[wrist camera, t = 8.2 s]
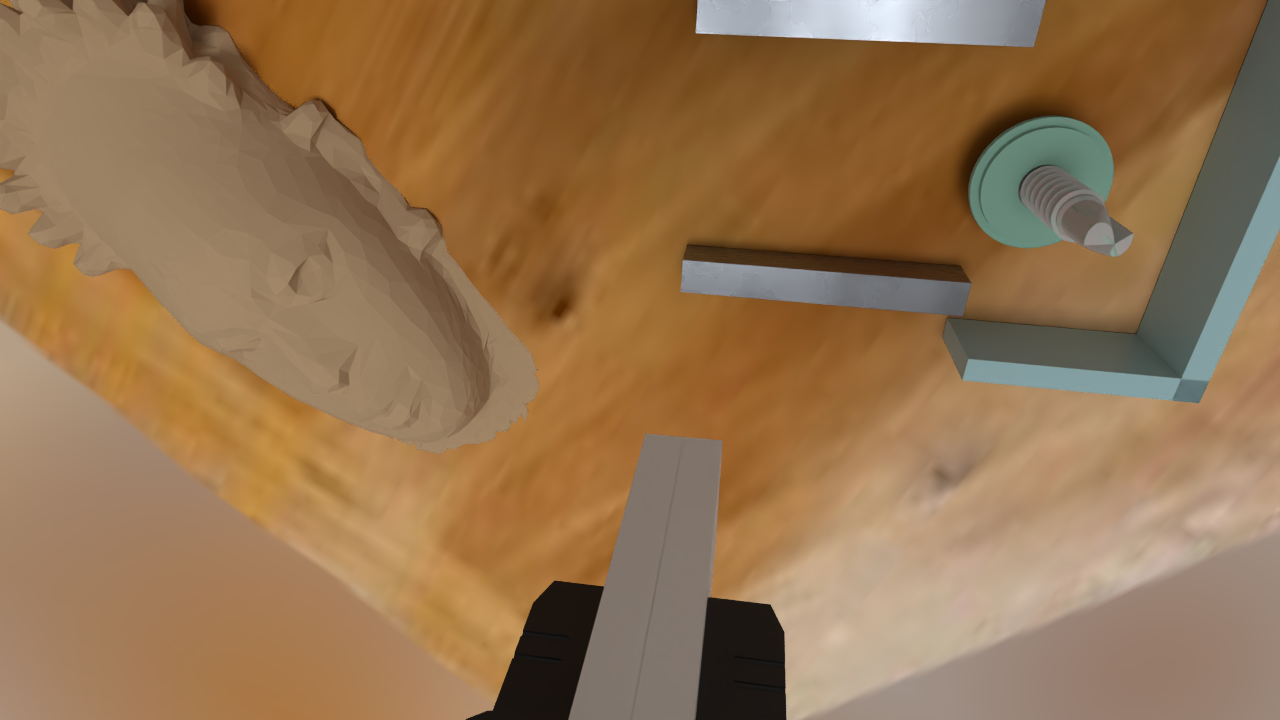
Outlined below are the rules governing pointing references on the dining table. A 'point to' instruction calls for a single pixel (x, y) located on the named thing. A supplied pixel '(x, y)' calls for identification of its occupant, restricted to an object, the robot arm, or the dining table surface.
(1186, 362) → the bracket
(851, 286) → the slot
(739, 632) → the robot arm
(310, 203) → the mask
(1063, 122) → the screw
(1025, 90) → the dining table surface
